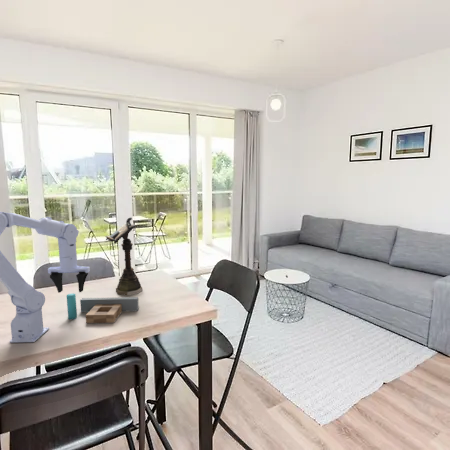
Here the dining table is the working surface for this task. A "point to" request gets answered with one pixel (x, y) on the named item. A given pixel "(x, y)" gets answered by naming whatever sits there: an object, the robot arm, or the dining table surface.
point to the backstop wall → (126, 302)
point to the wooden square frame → (104, 313)
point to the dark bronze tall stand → (126, 262)
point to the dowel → (71, 306)
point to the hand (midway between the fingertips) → (70, 291)
